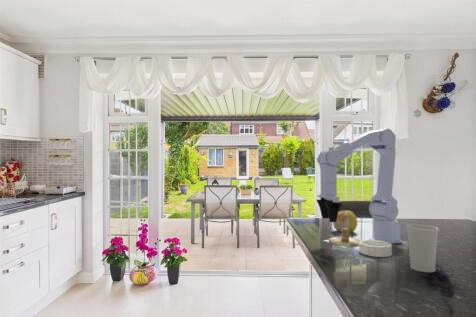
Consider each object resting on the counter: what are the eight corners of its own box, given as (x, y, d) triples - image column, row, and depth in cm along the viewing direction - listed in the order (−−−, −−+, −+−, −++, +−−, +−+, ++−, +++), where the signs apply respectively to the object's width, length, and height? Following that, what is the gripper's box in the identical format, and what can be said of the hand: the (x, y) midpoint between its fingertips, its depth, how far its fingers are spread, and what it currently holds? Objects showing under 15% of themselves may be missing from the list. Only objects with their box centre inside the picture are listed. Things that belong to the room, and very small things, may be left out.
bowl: (375, 248, 113) (375, 238, 114) (398, 256, 104) (398, 245, 104) (353, 251, 110) (353, 241, 110) (374, 259, 101) (374, 248, 101)
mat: (347, 238, 129) (347, 237, 129) (369, 245, 118) (369, 244, 118) (322, 241, 124) (322, 240, 124) (343, 248, 113) (343, 247, 113)
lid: (347, 237, 129) (347, 225, 129) (369, 244, 118) (369, 230, 118) (322, 240, 124) (322, 227, 125) (343, 247, 113) (342, 233, 113)
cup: (428, 275, 86) (427, 230, 86) (401, 266, 93) (400, 225, 93) (445, 270, 90) (444, 228, 90) (417, 263, 97) (417, 223, 97)
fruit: (339, 229, 148) (339, 208, 148) (361, 233, 140) (361, 210, 140) (327, 232, 141) (327, 210, 141) (350, 236, 133) (350, 212, 133)
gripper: (311, 181, 123) (312, 216, 123) (324, 184, 108) (325, 223, 108) (329, 181, 123) (329, 216, 123) (344, 183, 109) (345, 223, 109)
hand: (328, 220), depth 116 cm, fingers open, 7 cm apart
